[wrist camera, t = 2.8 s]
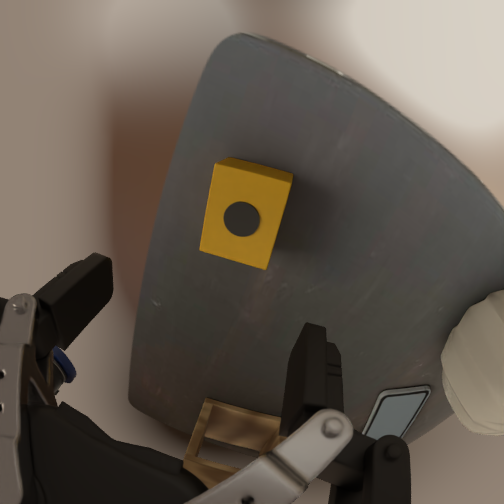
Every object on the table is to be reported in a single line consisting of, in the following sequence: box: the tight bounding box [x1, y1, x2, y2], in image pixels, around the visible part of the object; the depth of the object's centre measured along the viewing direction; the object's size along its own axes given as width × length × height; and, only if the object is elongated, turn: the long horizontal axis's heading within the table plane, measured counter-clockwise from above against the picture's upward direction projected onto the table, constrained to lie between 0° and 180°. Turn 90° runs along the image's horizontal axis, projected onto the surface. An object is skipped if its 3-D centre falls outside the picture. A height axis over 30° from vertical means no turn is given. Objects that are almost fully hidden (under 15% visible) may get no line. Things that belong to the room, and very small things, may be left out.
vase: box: [441, 290, 504, 436], centre depth 17 cm, size 14×14×13 cm
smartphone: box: [362, 386, 431, 440], centre depth 30 cm, size 7×1×15 cm
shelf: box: [183, 398, 287, 489], centre depth 30 cm, size 12×12×14 cm
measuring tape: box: [199, 157, 293, 270], centre depth 20 cm, size 5×7×4 cm
